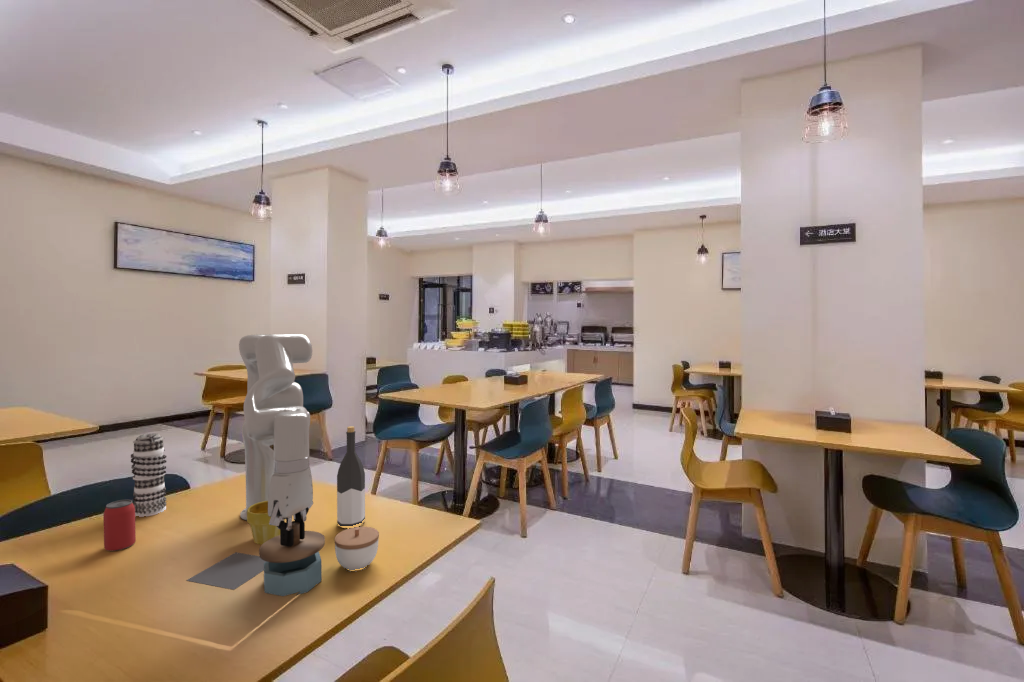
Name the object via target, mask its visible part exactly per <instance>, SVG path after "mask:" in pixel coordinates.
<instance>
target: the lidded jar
mask: <svg viewBox="0 0 1024 682" xmlns="http://www.w3.org/2000/svg"><path fill="white" fill-rule="evenodd" d="M379 539H380V532H379V531H378V529H377V528H374V527H372V526H360V527H354V528H349V529H343V530H342V531H340V532H338V533H337V534H336V536H334V550H335V556H336V557H335V558H336V560H337V562H338V564H339V565H340V566H341V567H342V568H344V569H345V568H346V569H349V570H355V569H360V568H364V567H366V566H367V565H369V566H370V564H371V563H372V562H373V561H374V560H375V557H376V555H377V553H378V548H379Z"/></svg>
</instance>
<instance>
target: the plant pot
mask: <svg viewBox="0 0 1024 682" xmlns="http://www.w3.org/2000/svg"><path fill="white" fill-rule="evenodd" d="M270 519H271V517H269V516H268V501H263V502H259V503H256V504H253V505H251V506H250V507H249V508H248V509H247V520H246V522H247V523H248V524H249V525H250V530H251V533H252V539H253V543H255V544H257V545H262V544H263V543H265V542H266V541H268V540H269V539H271V538H273V537H276V536H278V535H280V529H278V527H277V526H274V525H269V522H270ZM284 522H286V519H284Z"/></svg>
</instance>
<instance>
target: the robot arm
mask: <svg viewBox="0 0 1024 682" xmlns="http://www.w3.org/2000/svg"><path fill="white" fill-rule="evenodd" d="M238 350H239V351H238V352H239V354H240V357H241V359H242V362H243V364H244V366H245V368H246V372H247V384H246V385H247V387H246V388H247V390H246V391H247V393H246V396H245V398H244V402H243V416H244V422H243V423H242V424H241V425H242V426H241V436H242V441H243V448H244V459H245V460H244V462H245V508H244V509H242V510H241V511H240V518H241V519H242V520H245V521H247V509H248V508H249V507H250V506H251V505H253V504H256V503H259V502H263V501H268V516H269V517H271V519H270V522H269V525H274V526H277V527H278V529H280V544H281V545H283V546H289V547H291V546H293V544H294V530H293V529H291V526H292V522H298V523H300V539H304V538H305V531H306V530H305V527H306V525H305V524H306V523H305V522H307V517H308V516H307V515H308V513H309V510H310V509H311V508H312V507H313V504H314V500H313V499H314V488H313V487H314V486H313V478H312V477H313V476H312V475H313V474H312V471H311V466H310V426H311V414H310V412H309V411H308V410H307V408H306V407H305V406H304V393H303V388H302V386H301V385H300V384H299V383H298V382H296V381H295V380H296V373H295V369H294V364H304V363H305V364H307V363H309V362H310V361H311V359H312V357H313V344H312V343H311V340H310V338H309V337H308V336H307V335H305V334H303V333H290V334H289V333H287V334H286V333H276V334H275V333H272V334H271V333H269V334H268V333H267V334H266V333H265V334H264V333H263V334H261V333H260V334H257V333H256V334H247V335H245V336H243V337H241V339H239V343H238ZM272 445H273V448H271V447H270V446H272ZM284 519H285V521H284Z"/></svg>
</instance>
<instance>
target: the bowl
mask: <svg viewBox="0 0 1024 682" xmlns="http://www.w3.org/2000/svg"><path fill="white" fill-rule="evenodd" d="M322 568H323V567H322V557H321V555H320V551H318V552H317V553H315V554H313V555H311V556H309V557H307V558H304V559H301V560H297V561H292V562H285V563H272V562H265V563H264V571H263V589H264V593H265V594H270V595H274V596H281V597H285V596H288V595H292V594H296V595H302V594H306V593H308V592H309V591H311V590H312V589H313V588H315V585H316V584H317V585H318V584H319V583H320V582H322V581H321V580H322V576H323V575H322V572H323V571H322V570H323V569H322ZM317 585H316V586H317Z"/></svg>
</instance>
